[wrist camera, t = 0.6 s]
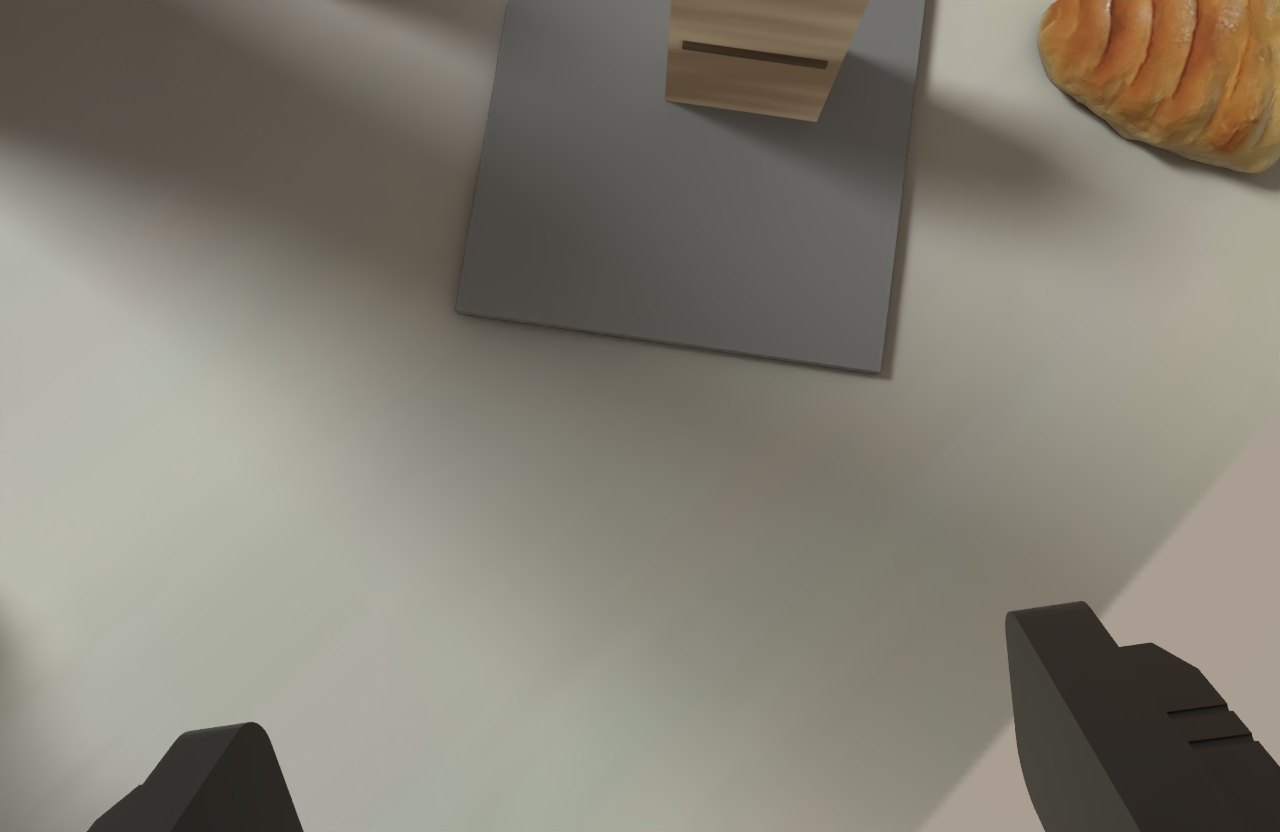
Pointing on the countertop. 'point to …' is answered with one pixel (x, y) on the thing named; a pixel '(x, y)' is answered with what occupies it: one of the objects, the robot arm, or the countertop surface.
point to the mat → (688, 192)
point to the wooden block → (759, 53)
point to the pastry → (1174, 73)
